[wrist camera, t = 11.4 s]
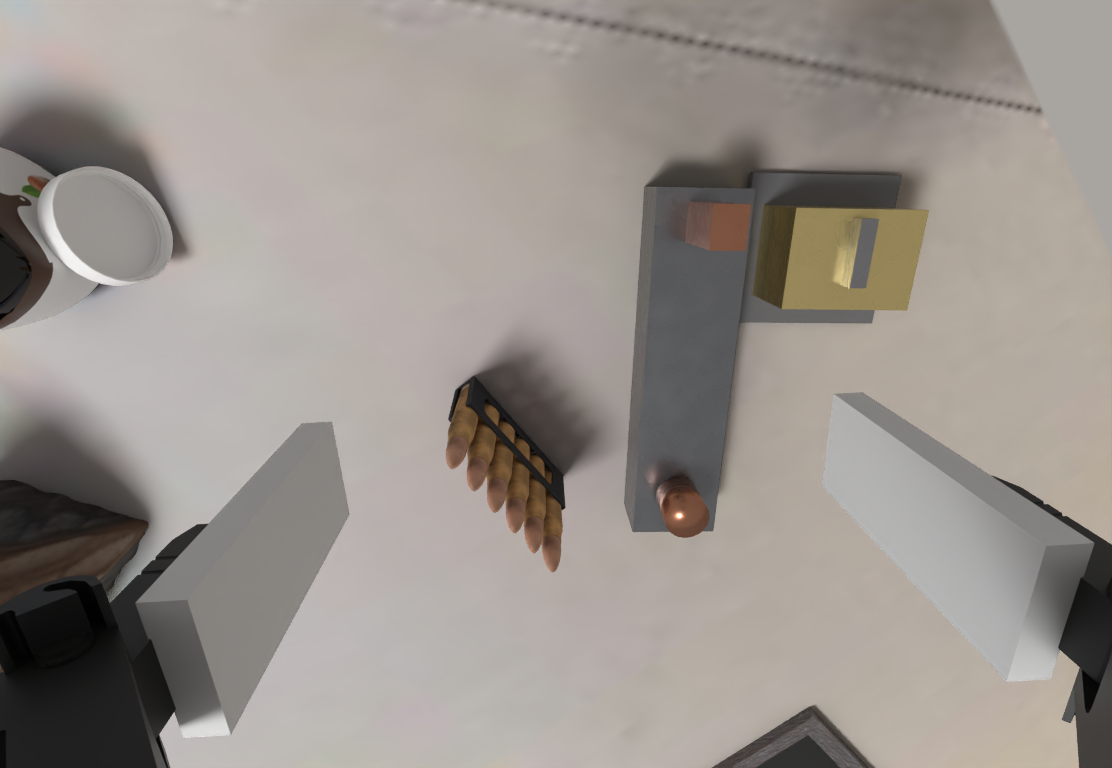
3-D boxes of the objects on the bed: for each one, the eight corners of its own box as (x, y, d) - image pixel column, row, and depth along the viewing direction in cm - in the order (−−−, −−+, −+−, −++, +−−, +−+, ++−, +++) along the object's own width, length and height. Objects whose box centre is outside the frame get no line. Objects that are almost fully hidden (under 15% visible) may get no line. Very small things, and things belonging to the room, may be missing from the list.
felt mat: (749, 172, 38) (753, 172, 38) (896, 175, 39) (901, 175, 38) (732, 320, 41) (735, 322, 41) (867, 321, 42) (871, 323, 41)
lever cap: (763, 205, 38) (804, 208, 33) (880, 207, 39) (940, 210, 33) (752, 294, 40) (788, 312, 35) (863, 295, 41) (917, 313, 35)
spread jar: (-57, 205, 37) (-308, 213, 26) (55, 84, 35) (-164, 37, 24) (100, 346, 40) (-61, 406, 29) (210, 242, 38) (81, 265, 27)
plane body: (644, 186, 38) (677, 186, 30) (733, 188, 38) (791, 188, 30) (624, 503, 46) (645, 575, 38) (698, 503, 46) (736, 574, 38)
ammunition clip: (563, 475, 45) (575, 573, 34) (545, 489, 45) (550, 590, 34) (473, 375, 42) (452, 445, 31) (454, 390, 42) (426, 465, 31)
